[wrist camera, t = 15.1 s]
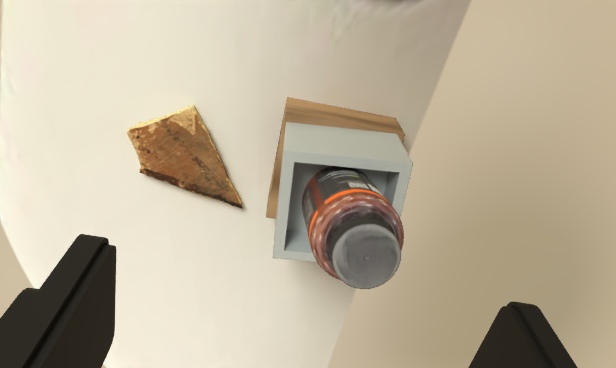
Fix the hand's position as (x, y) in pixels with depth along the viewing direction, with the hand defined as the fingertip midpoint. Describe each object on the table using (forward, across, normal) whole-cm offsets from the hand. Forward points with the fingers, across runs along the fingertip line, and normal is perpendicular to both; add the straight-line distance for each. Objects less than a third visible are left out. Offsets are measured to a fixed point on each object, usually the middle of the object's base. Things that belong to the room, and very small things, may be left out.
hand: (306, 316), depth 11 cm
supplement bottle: (+24, -5, +10) cm, 26 cm away
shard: (+32, +8, +11) cm, 35 cm away
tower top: (+27, -5, +10) cm, 29 cm away
